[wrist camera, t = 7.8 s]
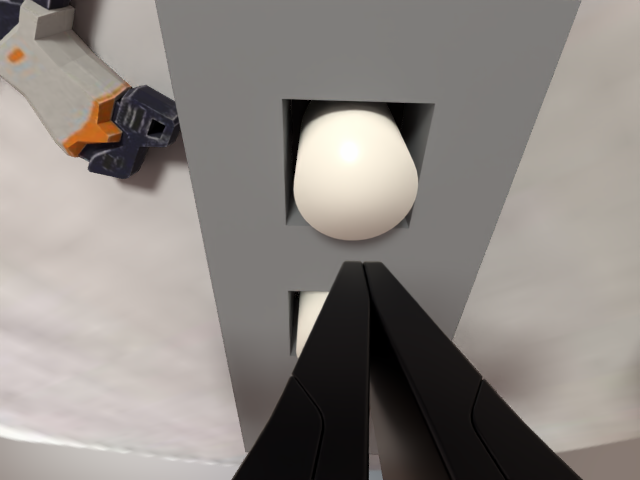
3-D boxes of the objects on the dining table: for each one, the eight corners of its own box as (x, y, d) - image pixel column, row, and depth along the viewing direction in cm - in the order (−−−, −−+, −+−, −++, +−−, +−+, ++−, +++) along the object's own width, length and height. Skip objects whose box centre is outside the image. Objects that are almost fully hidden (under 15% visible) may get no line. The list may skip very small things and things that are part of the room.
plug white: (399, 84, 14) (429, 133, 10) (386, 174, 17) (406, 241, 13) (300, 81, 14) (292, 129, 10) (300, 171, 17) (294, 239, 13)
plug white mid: (375, 247, 19) (389, 324, 15) (367, 299, 21) (377, 377, 17) (301, 246, 19) (295, 321, 15) (301, 298, 21) (296, 376, 17)
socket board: (516, -10, 13) (581, 0, 10) (398, 399, 28) (408, 454, 25) (194, -22, 13) (151, -15, 9) (254, 396, 28) (245, 452, 25)
